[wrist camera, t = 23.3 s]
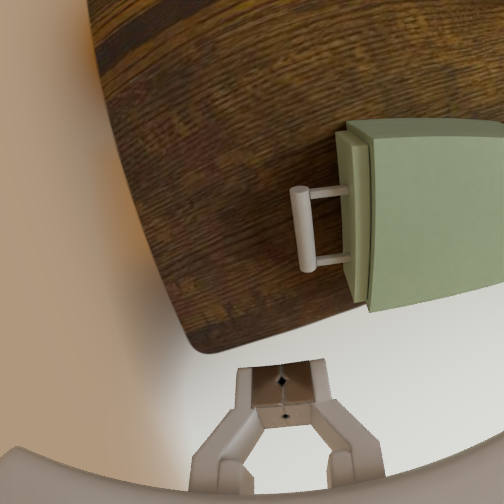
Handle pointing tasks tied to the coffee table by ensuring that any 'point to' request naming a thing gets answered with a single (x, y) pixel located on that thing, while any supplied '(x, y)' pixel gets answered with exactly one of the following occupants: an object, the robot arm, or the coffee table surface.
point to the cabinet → (433, 207)
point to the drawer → (353, 215)
